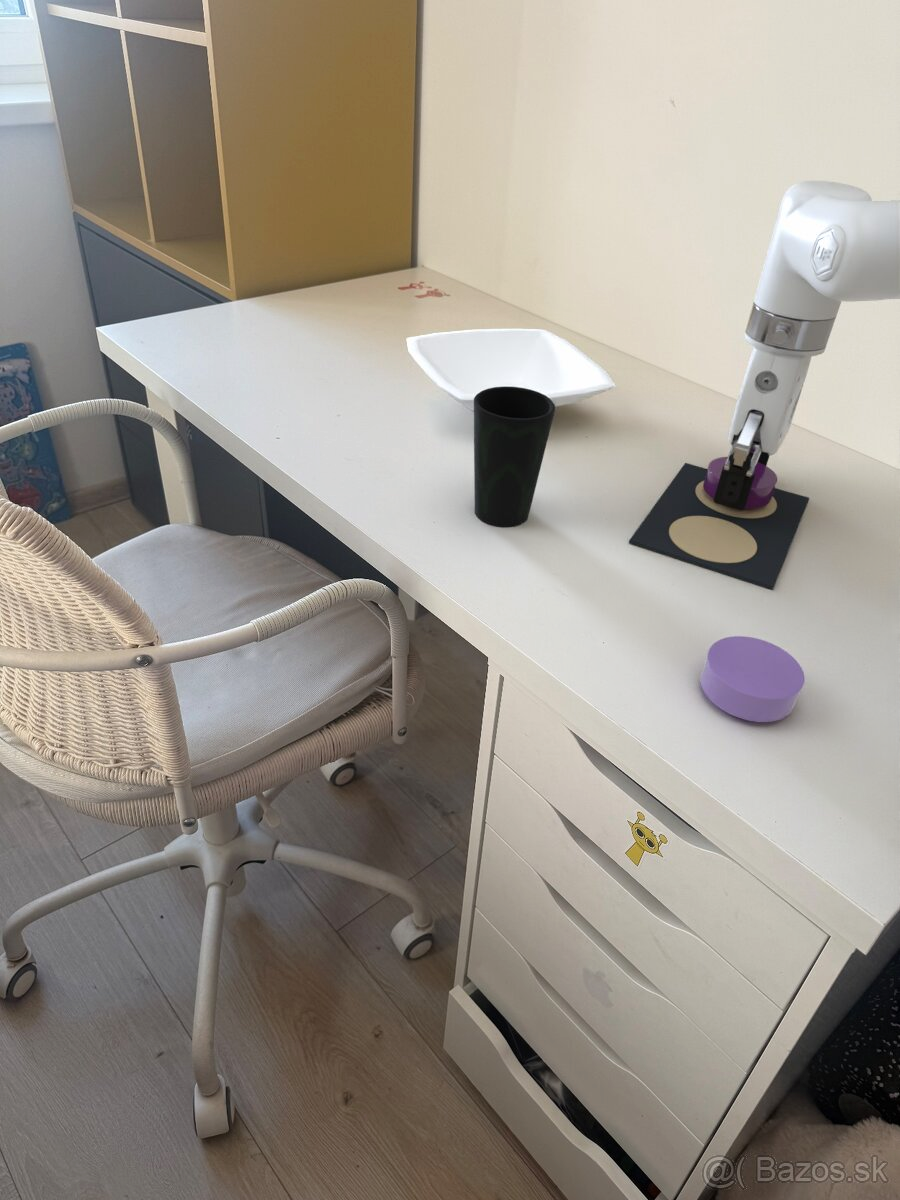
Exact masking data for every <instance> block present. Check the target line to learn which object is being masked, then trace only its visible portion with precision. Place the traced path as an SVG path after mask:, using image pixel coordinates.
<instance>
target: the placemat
mask: <svg viewBox="0 0 900 1200" xmlns="http://www.w3.org/2000/svg"><path fill="white" fill-rule="evenodd" d="M707 469H708V468H707V467H702V466H699V465H695V464H691V463H688V462H685V463H684V464H683V465H682V467H681V468H680V469H679V471H678V472H677V473H676V475H675V477H674V478H673V479H672V480H671V481H670V483H669V484H668V486H667V487H666V489H665V490H664V492H662V494H661V496H659V498H658V500H657V501H656V503H655V504H654V505H653V506H652V508H651V510H650V511H649V512H648V513H647V515H646V517H644V519H643V520H642V522H641V523H640V525H639V526H638V528H637V529H636V530H635V532H634V533H633V534H632V536H631V537H630V539H629V540H628V544H629V545H633V546H635V547H639V548H643V549H645V550H648V551H651V552H654V553H658V554H660V555H664V556H667V557H670V558H673V559H676V560H679V561H683V562H685V563H689V564H692V565H694V566H698V567H700V568H703V569H707V570H710V571H713V572H716V573H719V574H722V575H725V576H729V577H732V578H734V579H738V580H741V581H744V582H747V583H750V584H753V585H756V586H759V587H762V588H765V589H769V590H772V591H773V590H774V587H775V584H776V582H777V580H778V578H779V575H780V573H781V570H782V568H783V565H784V563H785V560H786V557H787V556H788V553H789V551H790V548H791V545H792V543H793V540H794V539H795V536H796V532H797V530H798V528H799V525H800V523H801V520H802V518H803V515H804V513H805V510H806V508H807V506H808V503H809V501H810V497H808V496H805V495H801V494H797V493H794V492H790V491H788V490H783V489H780V488H777V487H775V490H774V493H773V496H772V499H771V501H770V503H769V504H768V505H766V506H764V507H761V508H755V509H750V510H737V509H734V508H730V507H727V506H724V505H720V504H717V503H715V502H714V499H713V498H712V497H710V496H709V495H708V494H707V493H706V492H705V490H704V488H703V483H704V479H705V476H706V472H707Z"/></svg>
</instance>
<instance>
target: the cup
mask: <svg viewBox="0 0 900 1200" xmlns="http://www.w3.org/2000/svg"><path fill="white" fill-rule="evenodd" d="M555 411H556V407H555V404H554V403H553V402H552V400H551V399H550V398H548V397H547V396H546V395H543V394H541V393H539V392H537V391H534V390H530V389H526V388H520V387H505V386H503V387H494V388H489V389H486V390H483V391H481V392H480V393H478V394H477V395H476V396H475V398H474V411H473V453H474V454H473V471H474V472H473V473H474V474H473V475H474V478H473V479H474V481H473V482H474V484H473V485H474V487H473V488H474V515H475V516H476V518H477V519H479V520H480V521H481V522H483V523H485V524H487V525H490V526H494V527H499V528H512V527H513V528H514V527H517V526H520V525H522V524H524V523H526V522H527V521H528V518H529V516H530V512H531V507H532V505H533V500H534V496H535V492H536V488H537V484H538V479H539V476H540V472H541V468H542V464H543V460H544V456H545V451H546V447H547V443H548V440H549V436H550V430H551V428H552V424H553V419H554V416H555Z"/></svg>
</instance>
